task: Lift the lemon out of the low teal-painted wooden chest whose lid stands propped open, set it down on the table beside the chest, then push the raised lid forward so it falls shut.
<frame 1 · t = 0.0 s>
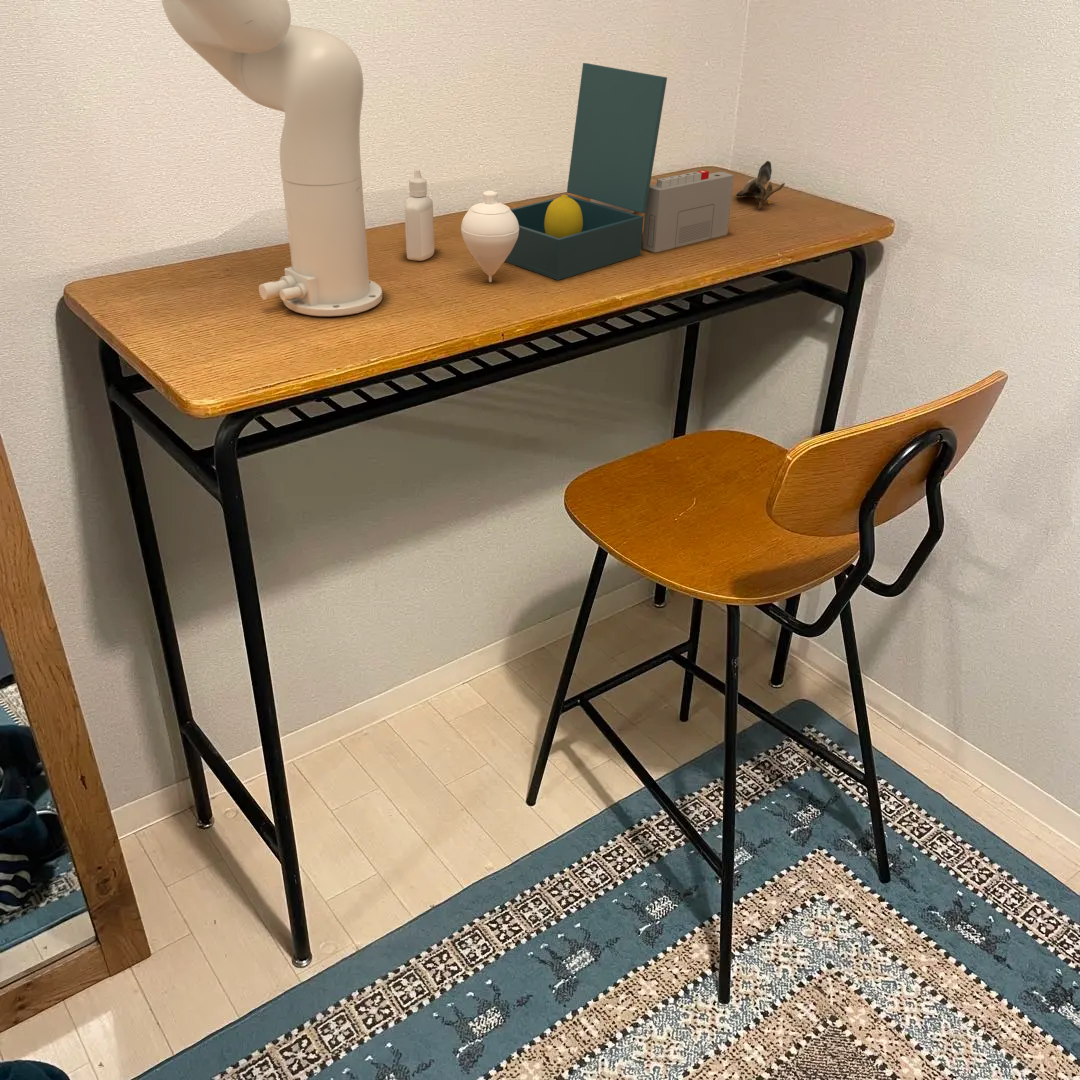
eye dropper bottle: (420, 257, 151), on the table
lemon: (562, 251, 152), resting on chest
cassette player: (685, 242, 159), on the table
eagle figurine: (756, 204, 178), on the table
coffee cup: (613, 211, 173), on the table
spinning top: (490, 283, 142), on the table
chest: (562, 254, 152), on the table
lid: (614, 137, 150), point 15 cm above the table, hinge at 98.0°
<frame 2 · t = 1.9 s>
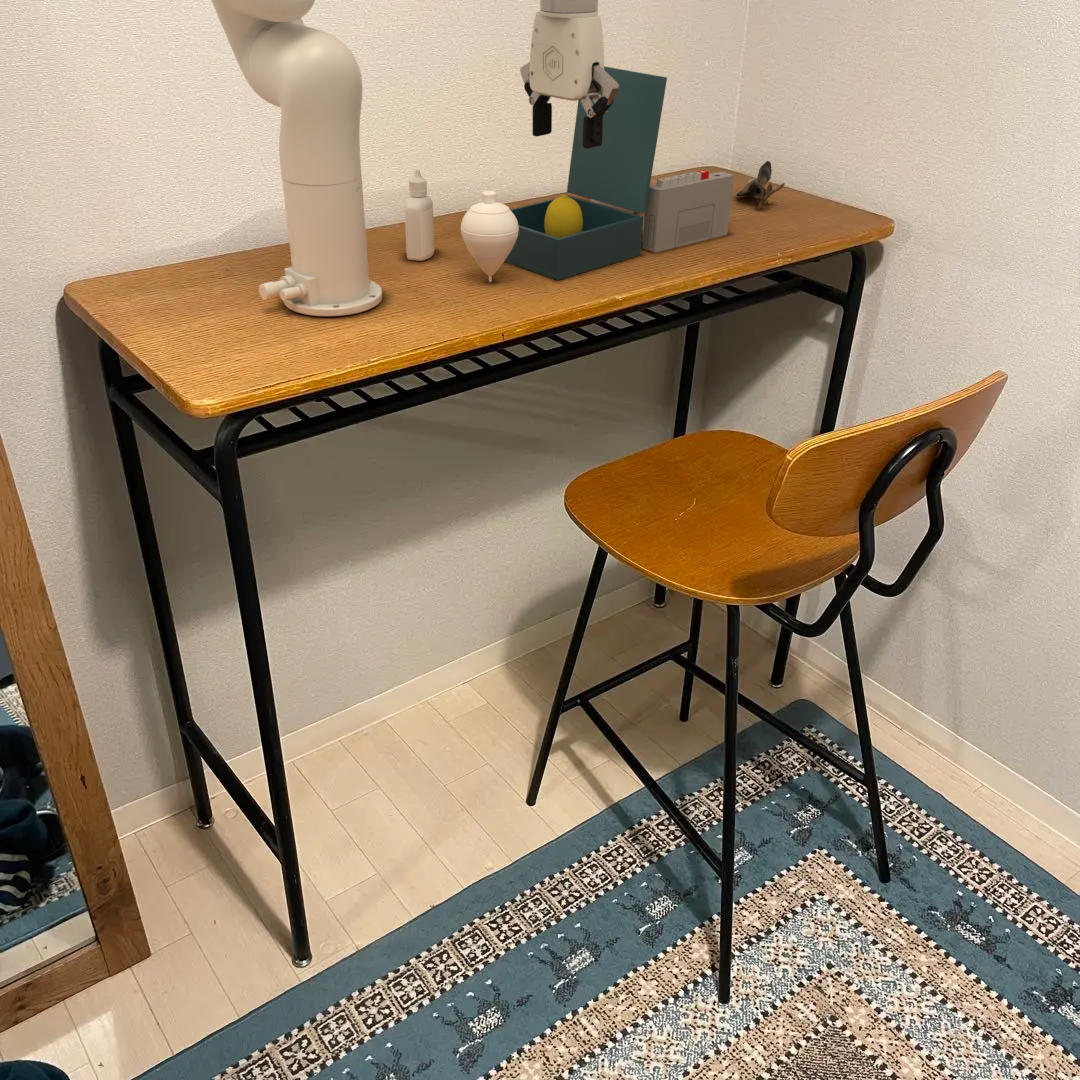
hand: (566, 140, 144), 16 cm above the table, tool pointing down, fingers open, 9 cm apart
nothing on the table moved.
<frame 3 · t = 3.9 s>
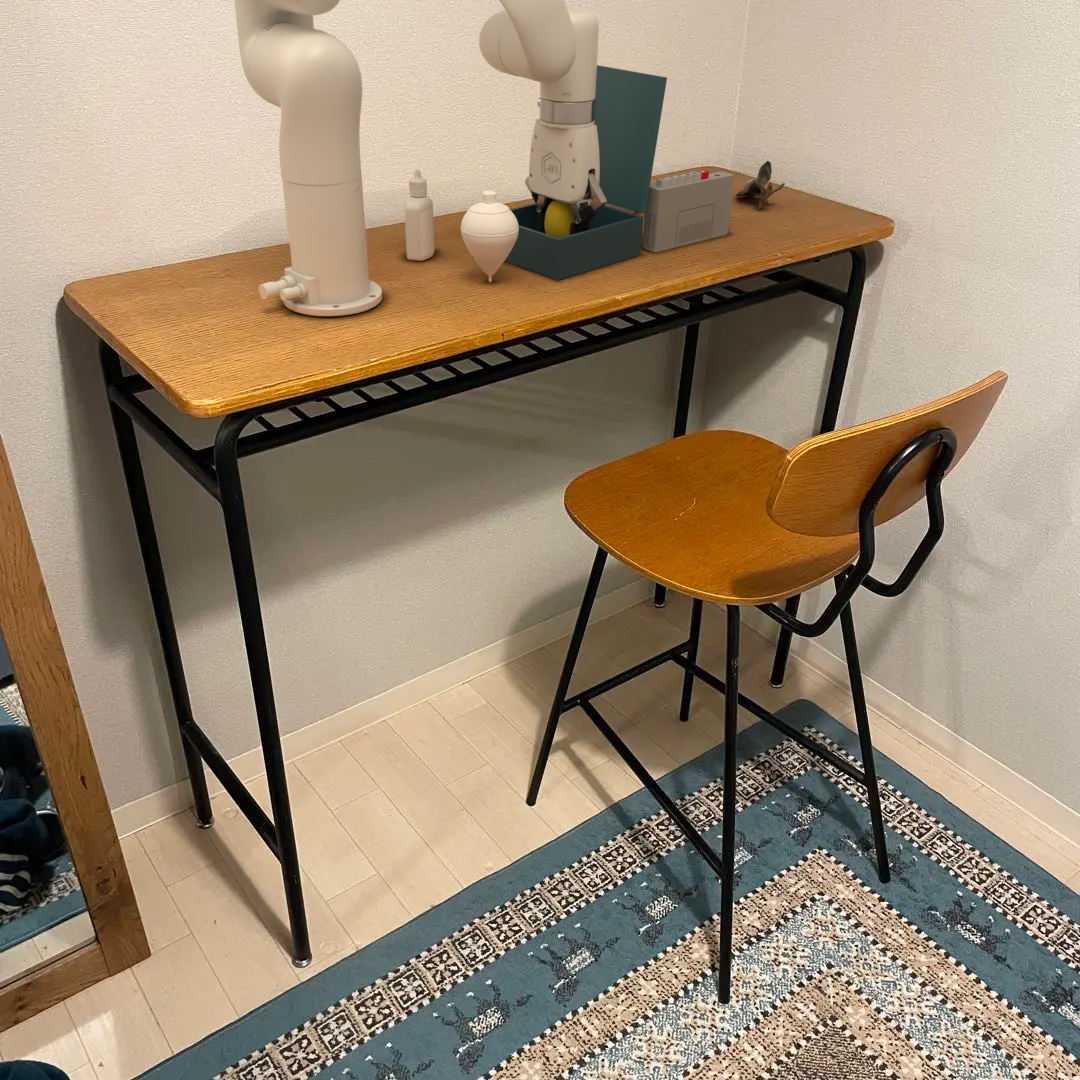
hand: (563, 242, 151), 2 cm above the table, tool pointing down, fingers closed on lemon, 5 cm apart
lemon: (562, 251, 152), resting on chest, touching gripper
everything else where it was.
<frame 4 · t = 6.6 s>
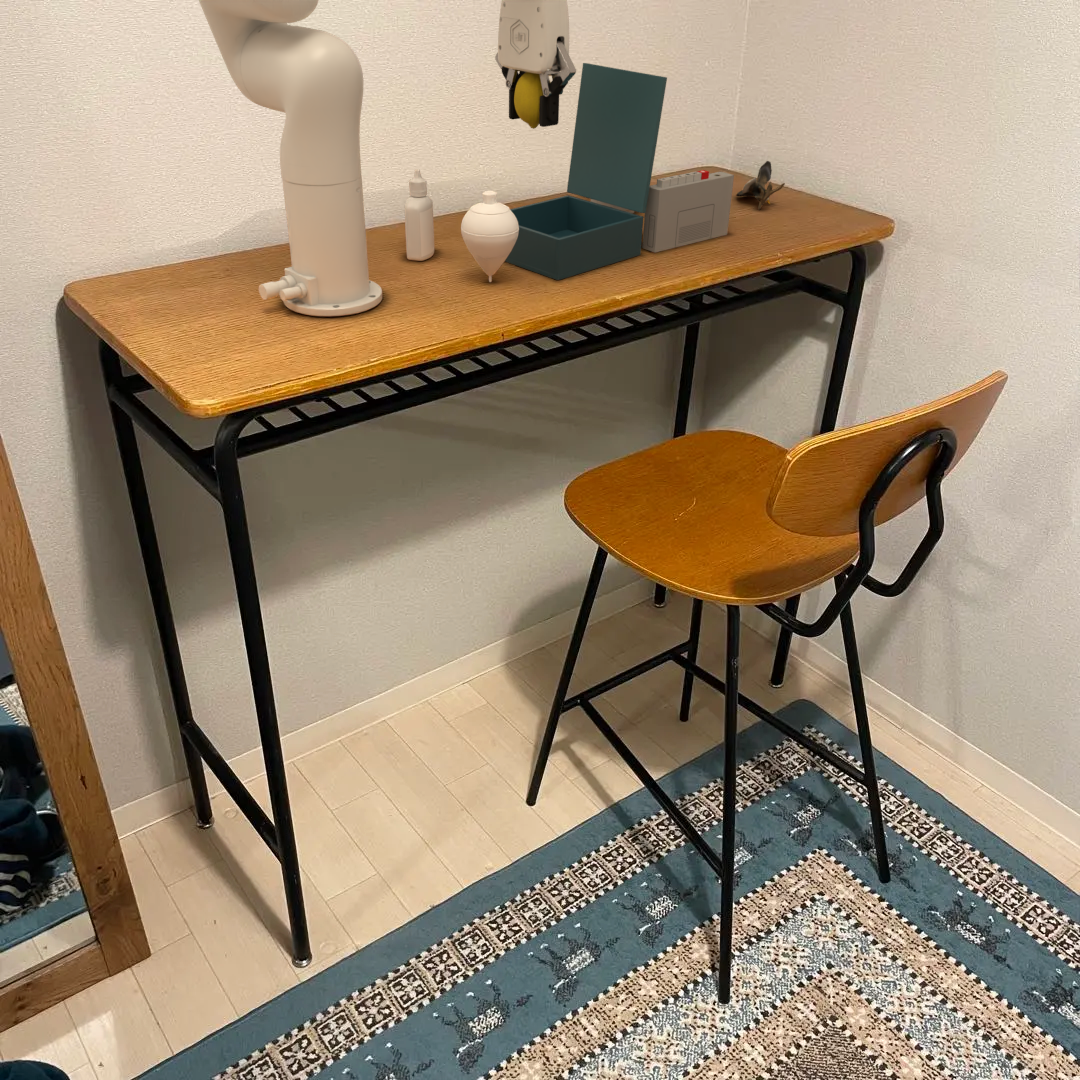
hand: (533, 120, 148), 17 cm above the table, tool pointing down, fingers closed on lemon, 5 cm apart
lemon: (533, 130, 148), point 16 cm above the table, touching gripper
everything else where it was.
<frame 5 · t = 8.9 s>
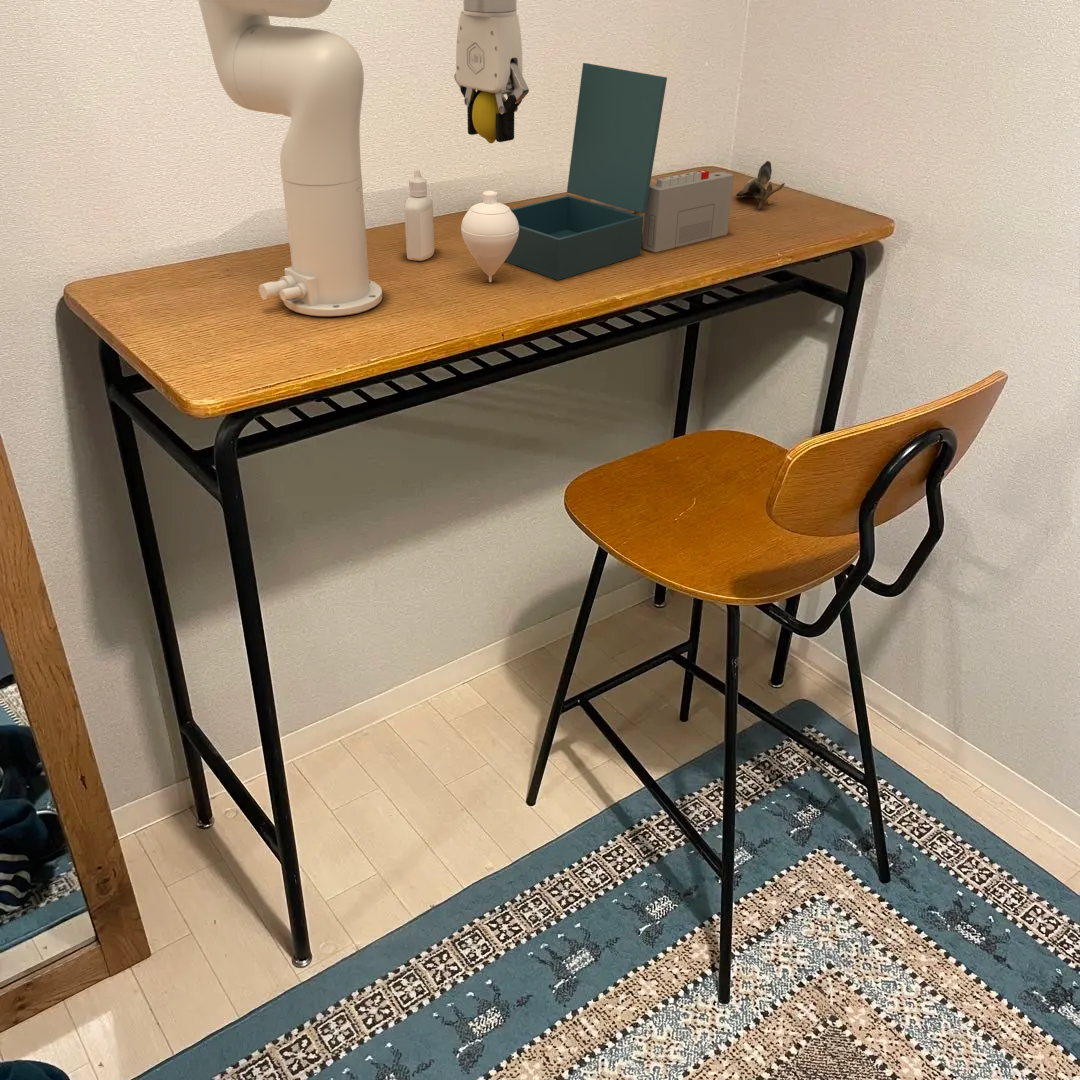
hand: (490, 135, 157), 13 cm above the table, tool pointing down, fingers closed on lemon, 5 cm apart
lemon: (491, 144, 158), point 12 cm above the table, touching gripper
everything else where it was.
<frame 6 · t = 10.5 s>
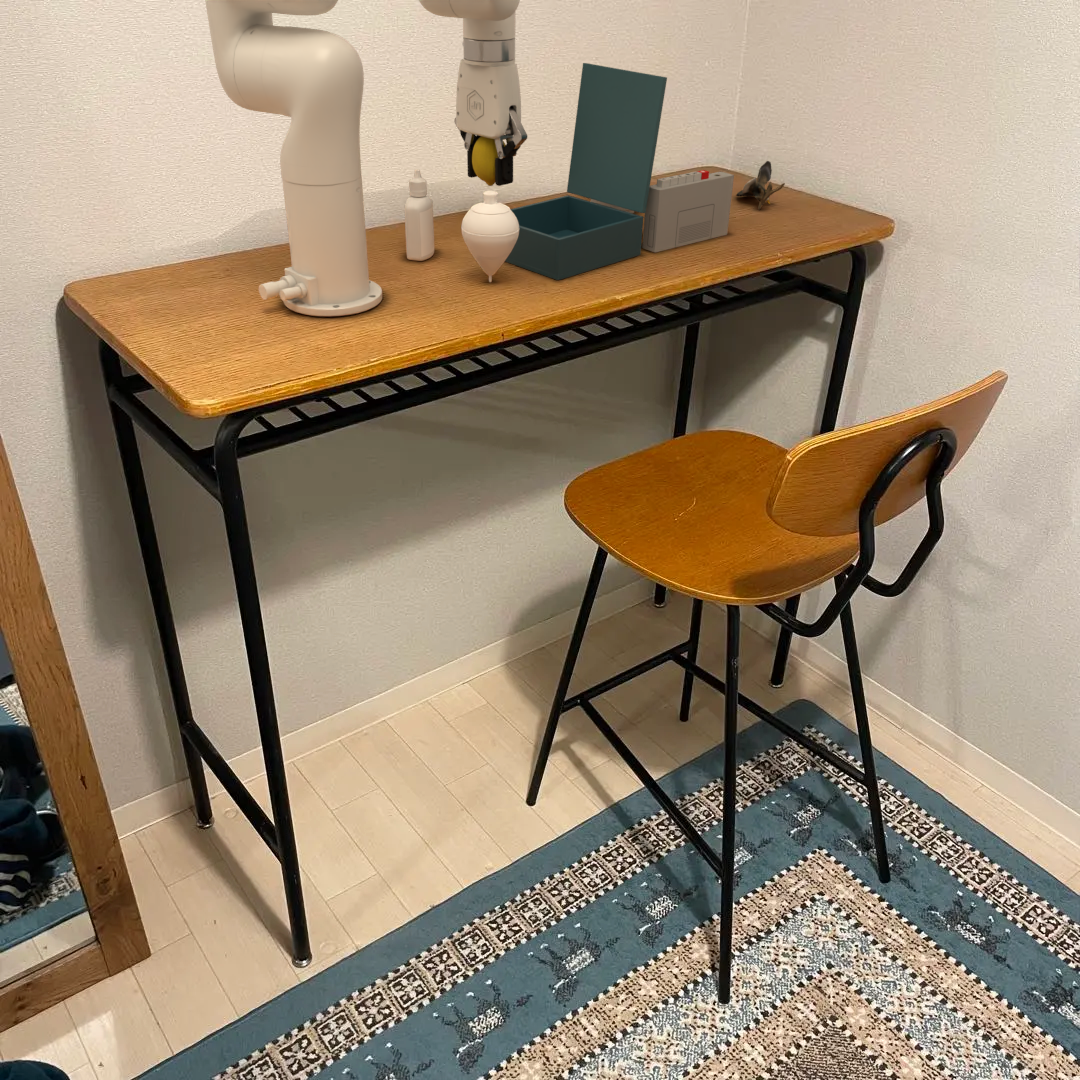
hand: (490, 178, 160), 7 cm above the table, tool pointing down, fingers closed on lemon, 5 cm apart
lemon: (490, 187, 161), point 6 cm above the table, touching gripper
everything else where it was.
when the fingers open (1 cm above the table, at t = 12.6 s): lemon stays where it is, on the table.
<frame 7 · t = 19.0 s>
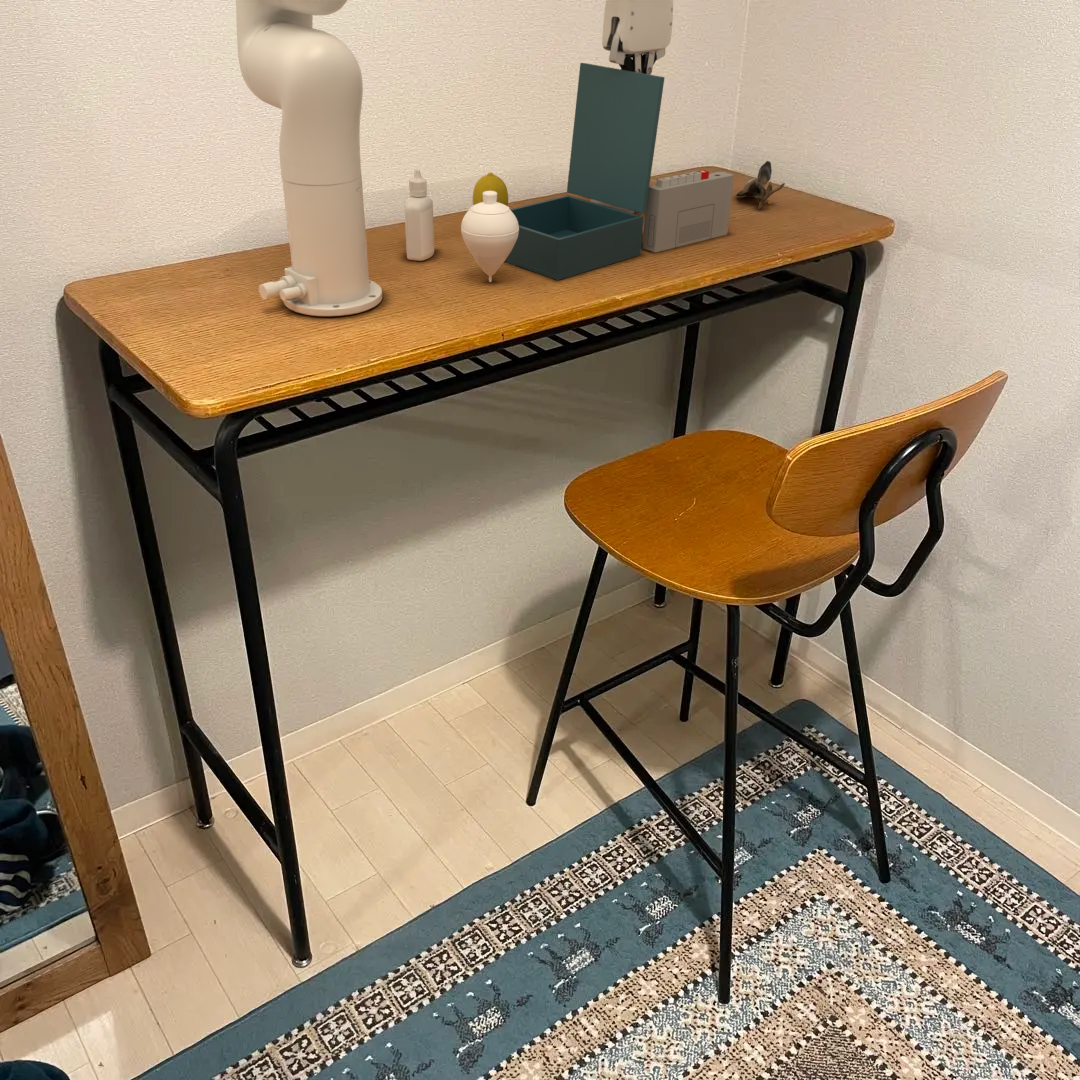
hand: (634, 104, 150), 19 cm above the table, tool pointing down, fingers closed
lemon: (490, 226, 164), on the table
lid: (612, 137, 150), point 15 cm above the table, hinge at 96.2°
everything else where it was.
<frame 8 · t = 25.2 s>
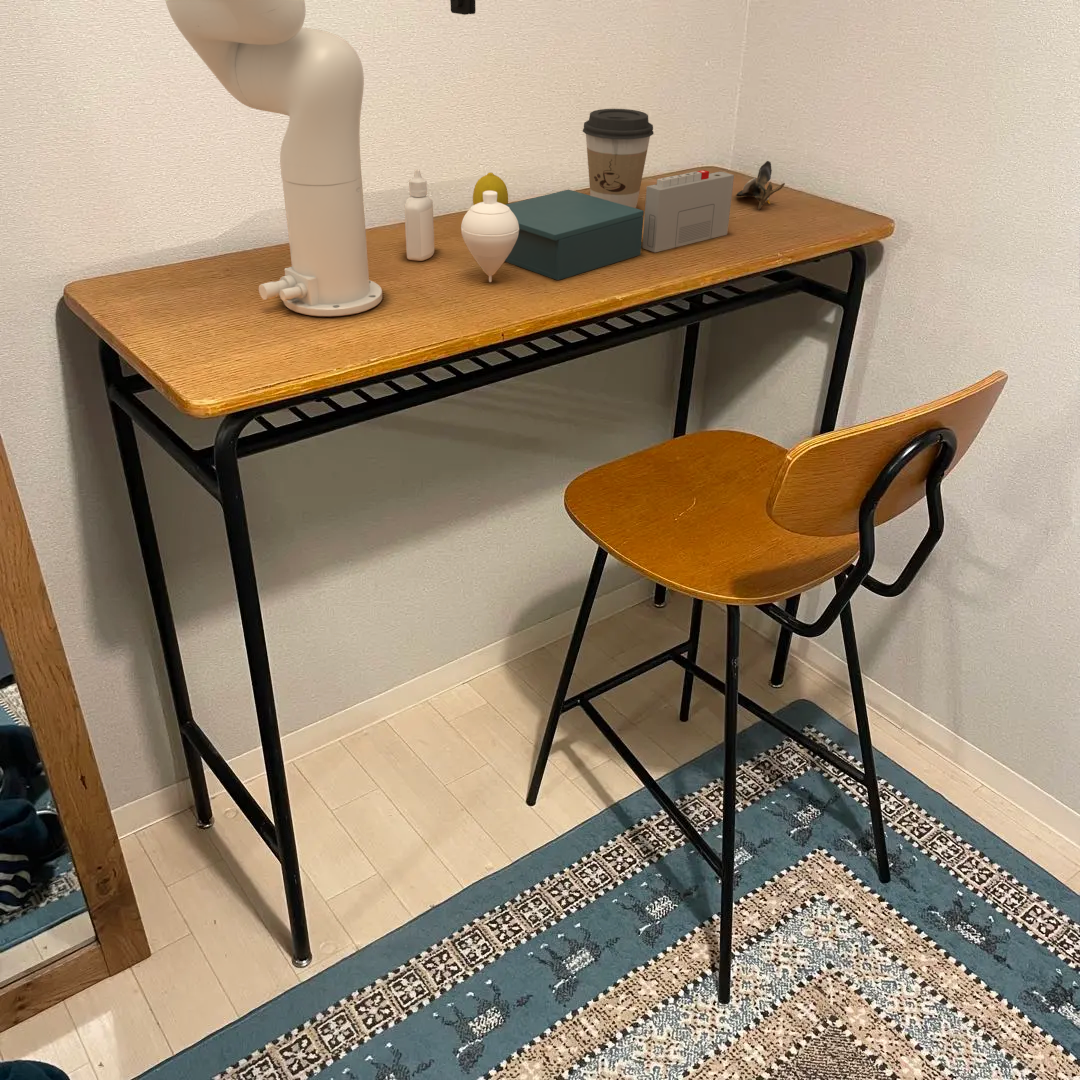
hand: (463, 13, 138), 31 cm above the table, tool pointing down, fingers closed
lid: (562, 213, 149), point 6 cm above the table, hinge at -0.1°
everything else where it was.
at the end: lemon inside the target area (0.0 cm from its centre), on the table; the gripper is holding nothing; lid at +0° (first picture: +98°) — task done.
